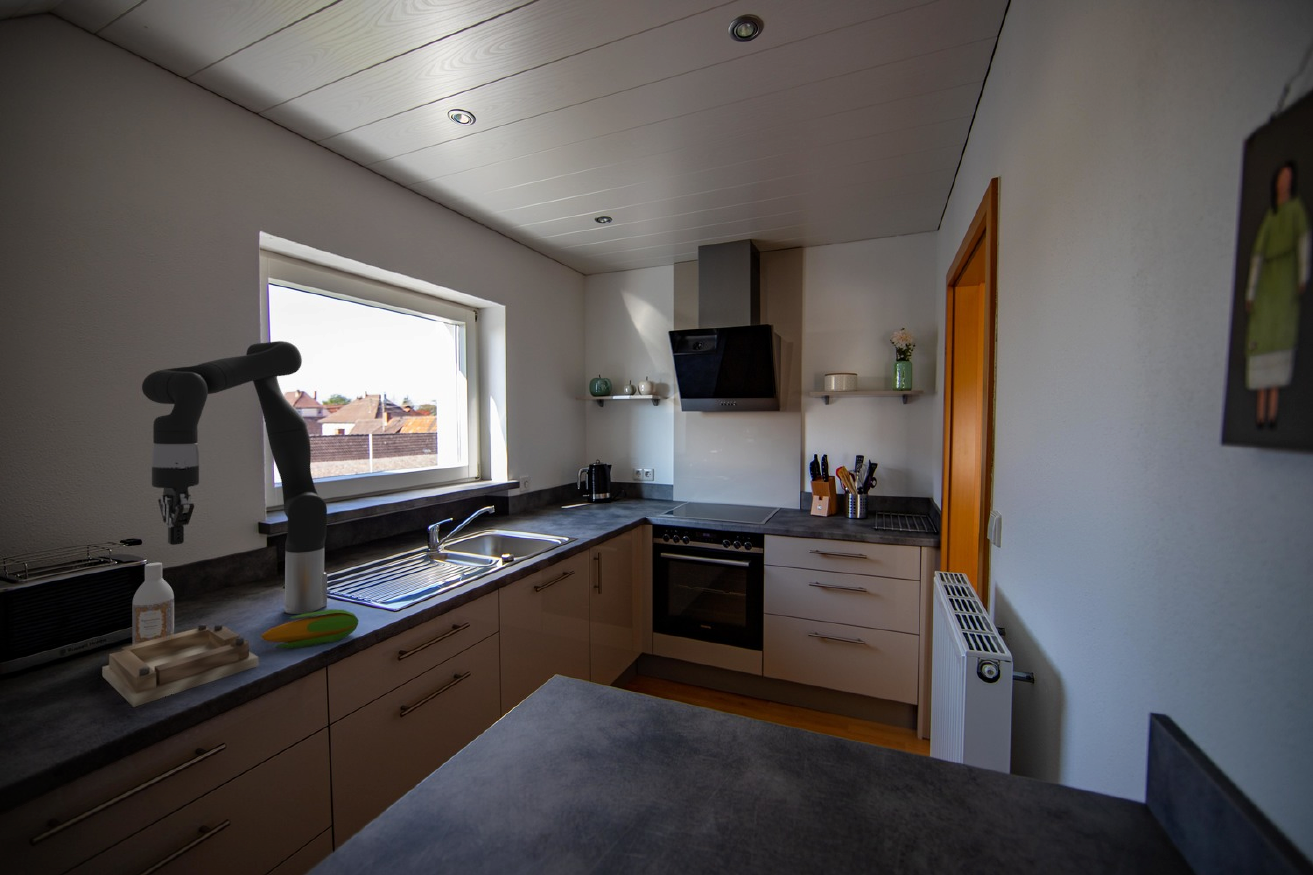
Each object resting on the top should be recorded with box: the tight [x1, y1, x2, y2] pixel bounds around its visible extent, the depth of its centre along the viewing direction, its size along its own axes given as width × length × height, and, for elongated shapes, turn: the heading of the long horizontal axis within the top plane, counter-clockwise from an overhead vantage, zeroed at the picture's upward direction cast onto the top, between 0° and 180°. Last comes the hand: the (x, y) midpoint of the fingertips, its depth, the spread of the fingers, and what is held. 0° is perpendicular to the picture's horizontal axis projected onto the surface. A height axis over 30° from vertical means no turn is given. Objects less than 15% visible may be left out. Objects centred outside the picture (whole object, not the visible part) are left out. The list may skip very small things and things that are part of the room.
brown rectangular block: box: [155, 636, 250, 685], centre depth 109 cm, size 15×3×4 cm, turn 149°
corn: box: [260, 608, 359, 649], centre depth 127 cm, size 7×8×20 cm
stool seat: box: [101, 623, 259, 708], centre depth 112 cm, size 20×20×6 cm
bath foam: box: [131, 562, 175, 645], centre depth 121 cm, size 7×7×20 cm
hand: (175, 543), depth 113 cm, fingers closed
